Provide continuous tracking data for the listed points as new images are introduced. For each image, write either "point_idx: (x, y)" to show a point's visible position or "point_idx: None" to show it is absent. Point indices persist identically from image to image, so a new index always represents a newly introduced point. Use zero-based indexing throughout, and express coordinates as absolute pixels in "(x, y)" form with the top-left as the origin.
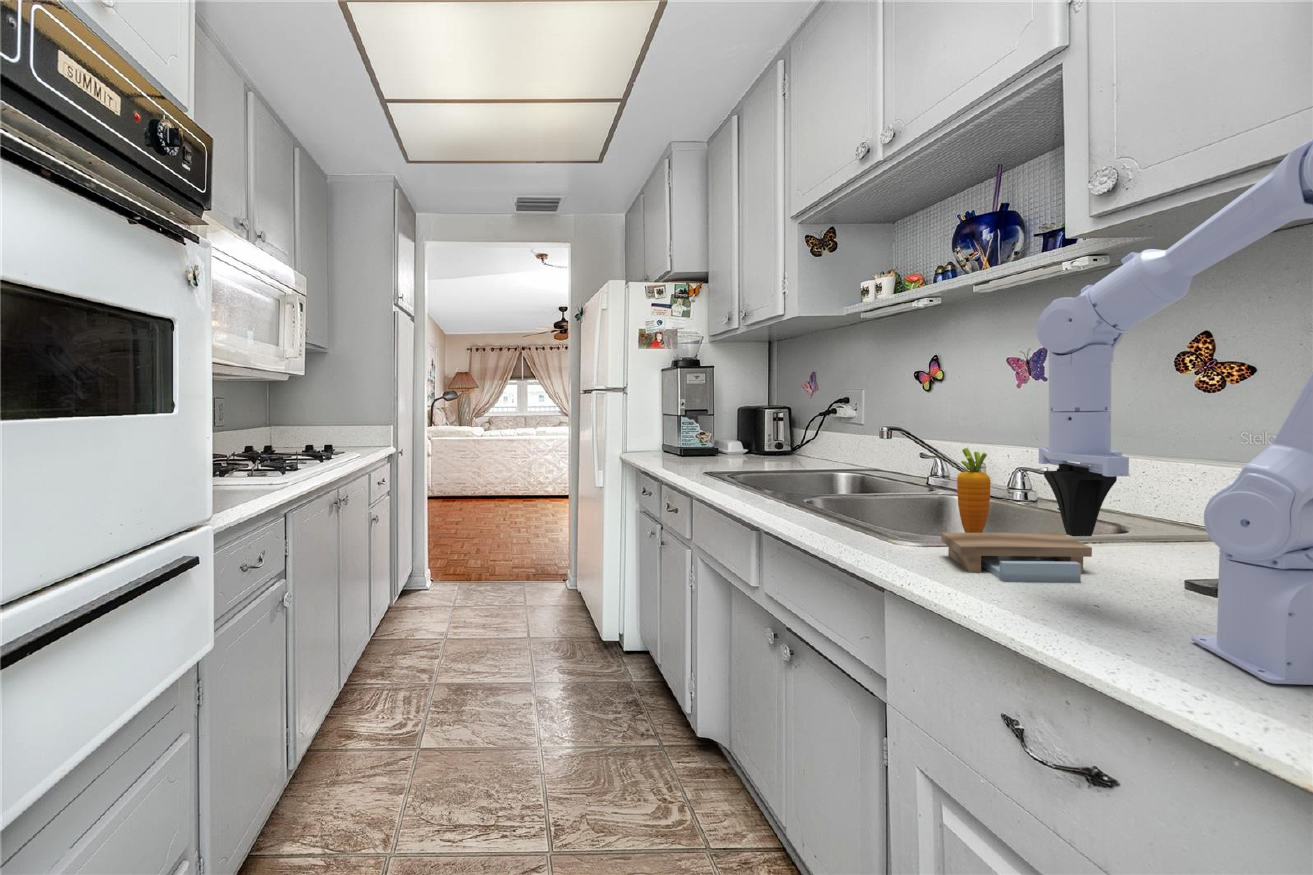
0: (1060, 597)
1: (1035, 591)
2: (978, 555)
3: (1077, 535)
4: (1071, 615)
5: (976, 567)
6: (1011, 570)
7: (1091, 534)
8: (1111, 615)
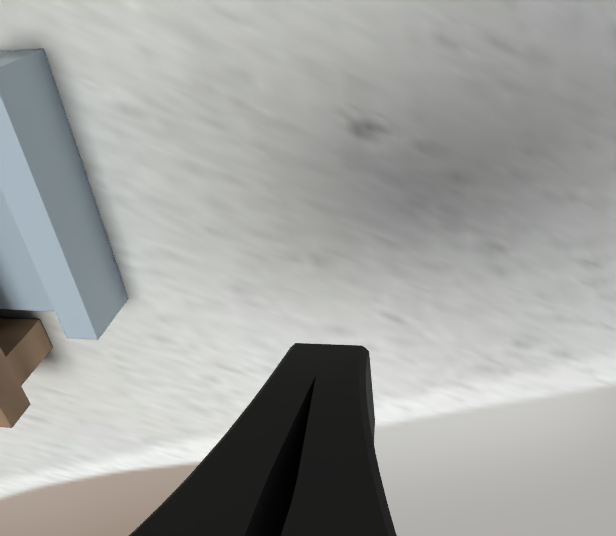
0: (275, 205)
1: (218, 251)
2: (8, 364)
3: (372, 409)
4: (481, 254)
5: (36, 341)
6: (101, 301)
7: (368, 357)
8: (483, 128)
